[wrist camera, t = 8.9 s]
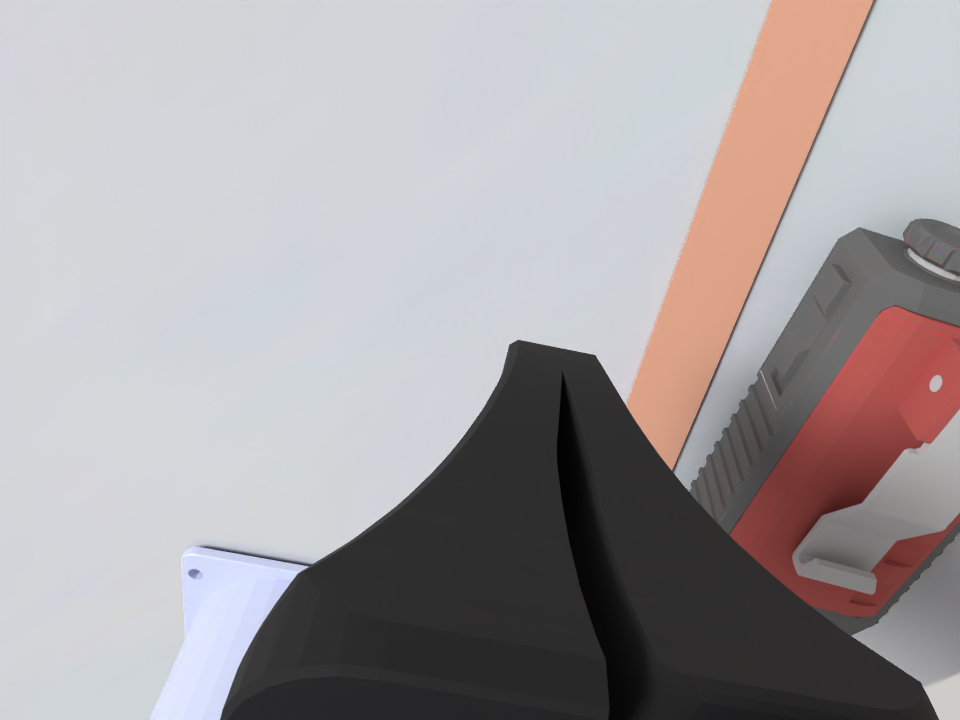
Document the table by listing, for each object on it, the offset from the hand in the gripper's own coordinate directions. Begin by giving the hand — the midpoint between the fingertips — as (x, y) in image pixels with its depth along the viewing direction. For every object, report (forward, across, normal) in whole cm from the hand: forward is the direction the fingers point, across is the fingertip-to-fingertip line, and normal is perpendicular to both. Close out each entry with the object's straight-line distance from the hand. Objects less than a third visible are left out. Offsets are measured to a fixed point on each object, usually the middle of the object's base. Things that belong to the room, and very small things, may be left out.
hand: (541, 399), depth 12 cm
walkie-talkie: (+9, -11, +2) cm, 15 cm away
